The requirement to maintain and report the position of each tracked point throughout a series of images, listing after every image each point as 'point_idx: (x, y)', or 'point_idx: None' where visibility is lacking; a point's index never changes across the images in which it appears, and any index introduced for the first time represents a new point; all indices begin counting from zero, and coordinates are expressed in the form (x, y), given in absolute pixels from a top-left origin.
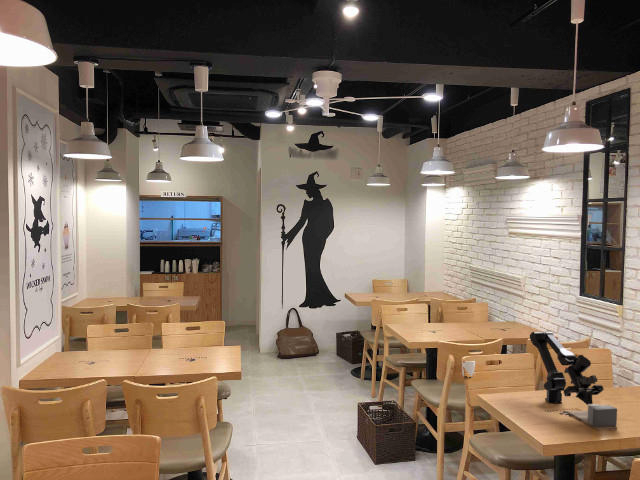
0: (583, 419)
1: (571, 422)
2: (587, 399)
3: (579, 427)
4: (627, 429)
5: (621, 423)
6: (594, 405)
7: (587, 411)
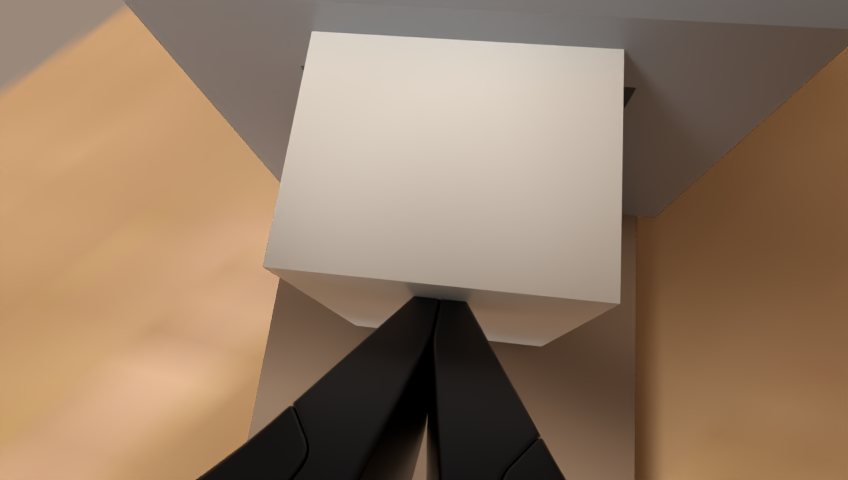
0: (611, 358)
1: (827, 400)
2: (538, 440)
3: (824, 202)
4: None
5: (85, 180)
6: (500, 144)
7: (566, 332)
